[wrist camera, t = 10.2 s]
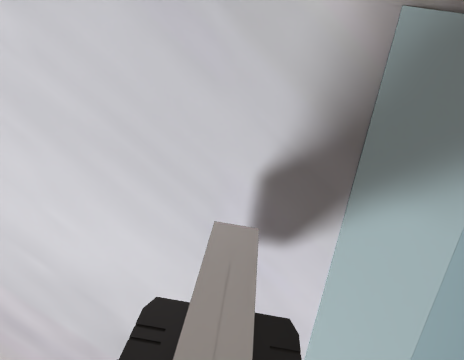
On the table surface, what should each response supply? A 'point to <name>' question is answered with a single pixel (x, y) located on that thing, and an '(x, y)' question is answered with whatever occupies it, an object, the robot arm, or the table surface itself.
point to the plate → (404, 210)
